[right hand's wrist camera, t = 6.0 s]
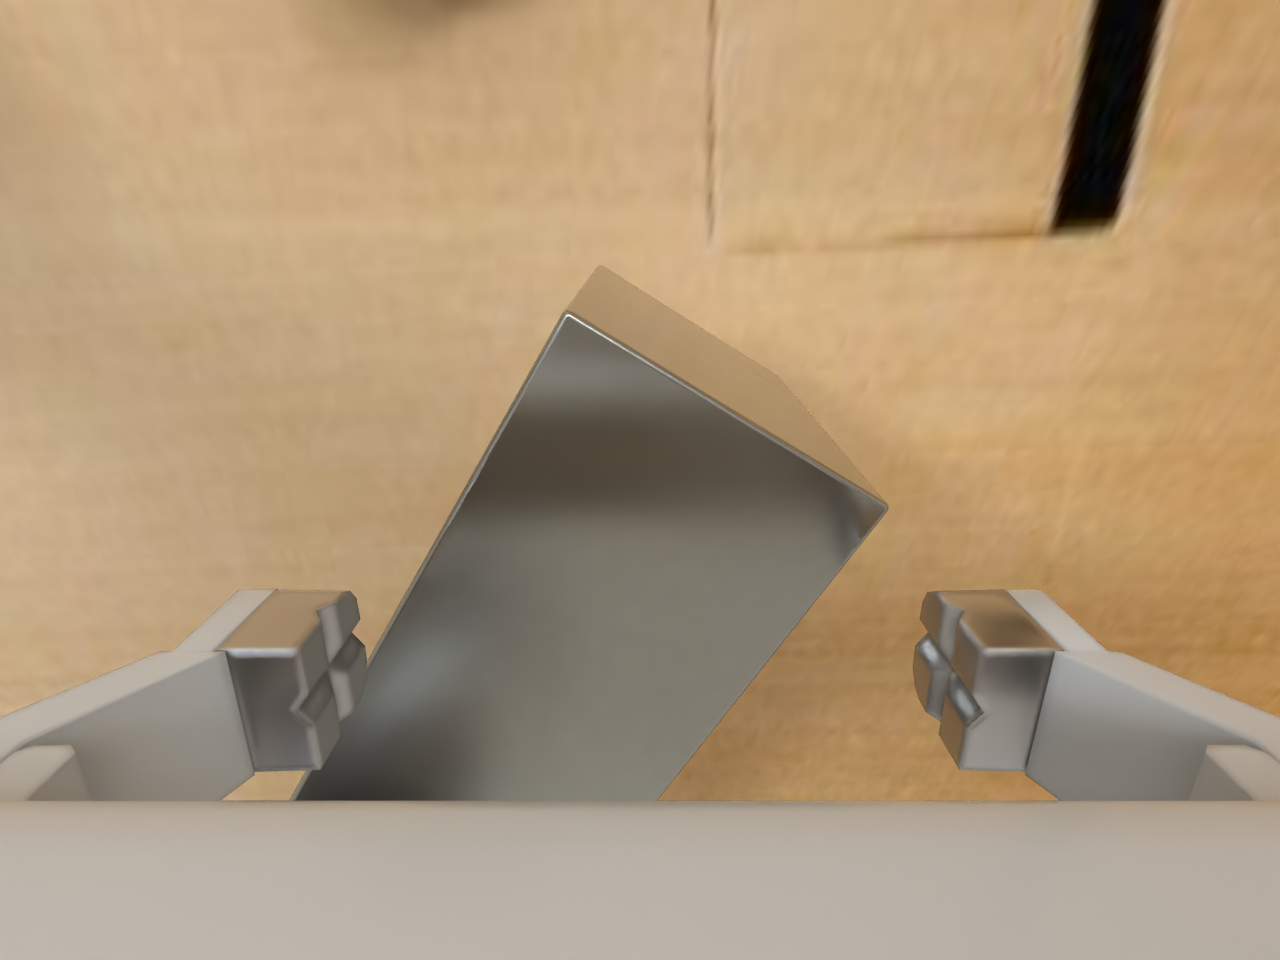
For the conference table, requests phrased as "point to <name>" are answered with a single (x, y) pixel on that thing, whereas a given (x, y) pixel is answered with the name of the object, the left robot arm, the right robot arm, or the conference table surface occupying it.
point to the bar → (604, 572)
